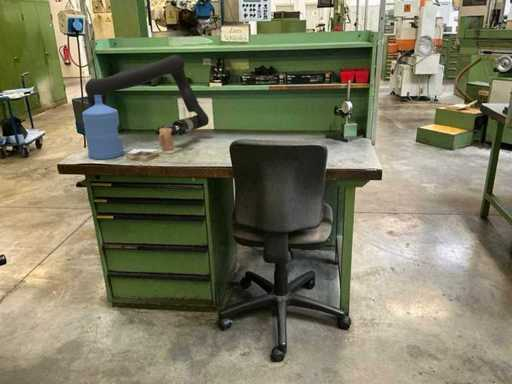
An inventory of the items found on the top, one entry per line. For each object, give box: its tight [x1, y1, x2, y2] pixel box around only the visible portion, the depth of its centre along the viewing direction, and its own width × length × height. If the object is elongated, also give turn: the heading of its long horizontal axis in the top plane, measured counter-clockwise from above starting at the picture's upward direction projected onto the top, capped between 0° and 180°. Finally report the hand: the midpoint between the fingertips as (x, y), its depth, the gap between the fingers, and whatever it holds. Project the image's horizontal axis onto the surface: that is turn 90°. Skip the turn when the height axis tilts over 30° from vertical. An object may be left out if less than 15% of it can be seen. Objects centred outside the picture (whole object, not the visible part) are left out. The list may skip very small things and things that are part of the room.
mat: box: [152, 146, 183, 155], centre depth 202 cm, size 10×10×1 cm
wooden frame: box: [126, 150, 160, 163], centre depth 191 cm, size 10×10×2 cm
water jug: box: [81, 95, 124, 160], centre depth 192 cm, size 16×16×28 cm
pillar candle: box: [158, 128, 175, 151], centre depth 199 cm, size 6×8×10 cm
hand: (164, 133), depth 197 cm, fingers open, 8 cm apart
